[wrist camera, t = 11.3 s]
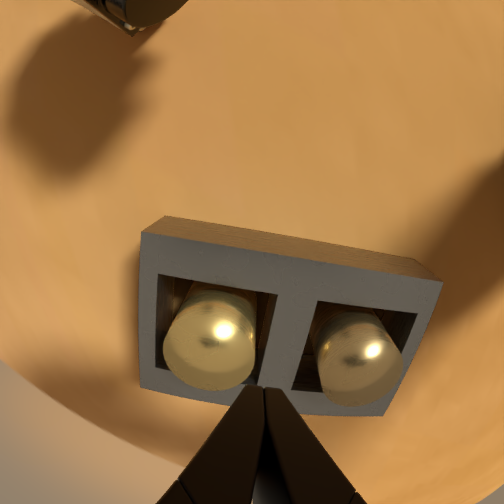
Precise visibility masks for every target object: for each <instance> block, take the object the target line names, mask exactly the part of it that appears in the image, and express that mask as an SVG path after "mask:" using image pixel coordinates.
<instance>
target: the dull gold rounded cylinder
mask: <svg viewBox="0 0 504 504" xmlns="http://www.w3.org/2000/svg"><path fill="white" fill-rule="evenodd" d="M309 334H310V338H311V342H312V347H313V351H314V355H315V359H316V363H317V368H318V372H319V376H320V380H321V385H322V389H323V392H324V394H325V396H326V397H327V398H328V399H329V400H330V401H332V402H333V403H335V404H338V405H341V406H347V407H356V406H362V405H366V404H369V403H372V402H374V401H376V400H378V399H380V398H381V397H383V396H384V395H386V394H387V393H388V392H389V391H390V390H391V389H392V388H393V387H394V386H395V385H396V383H397V382H398V380H399V378H400V376H401V374H402V370H403V358H402V356H401V353H400V352H399V350H398V348H397V347H396V345H395V344H394V342H393V341H392V339H391V337H390V336H389V334H388V333H387V331H386V330H385V328H384V326H383V325H382V323H381V322H380V320H379V319H378V317H377V316H376V314H375V313H374V311H373V309H372V308H370V307H362V306H355V305H347V304H340V303H333V302H326V301H318V302H317V305H316V308H315V312H314V315H313V319H312V322H311V326H310V329H309Z"/></svg>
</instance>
